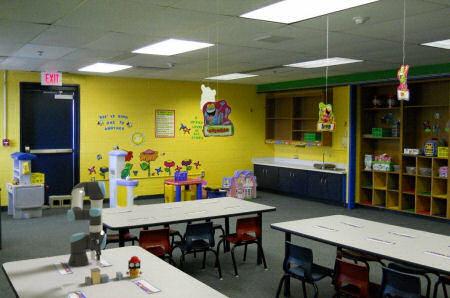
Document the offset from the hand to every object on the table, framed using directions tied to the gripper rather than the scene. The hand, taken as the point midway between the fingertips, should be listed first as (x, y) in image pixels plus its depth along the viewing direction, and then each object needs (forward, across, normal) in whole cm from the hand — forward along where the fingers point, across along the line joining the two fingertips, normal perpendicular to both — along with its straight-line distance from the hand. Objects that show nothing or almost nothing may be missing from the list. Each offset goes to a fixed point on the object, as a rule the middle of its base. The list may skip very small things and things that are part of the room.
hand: (95, 262), depth 301 cm
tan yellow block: (+14, 0, 0) cm, 14 cm away
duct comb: (+15, 0, +6) cm, 16 cm away
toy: (+15, -2, +28) cm, 32 cm away
